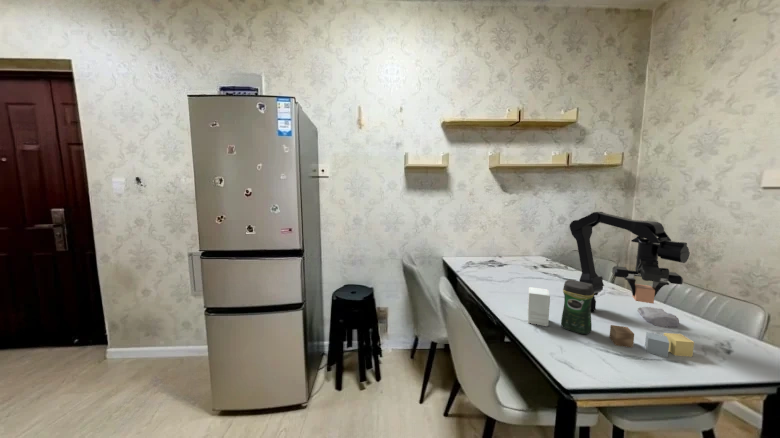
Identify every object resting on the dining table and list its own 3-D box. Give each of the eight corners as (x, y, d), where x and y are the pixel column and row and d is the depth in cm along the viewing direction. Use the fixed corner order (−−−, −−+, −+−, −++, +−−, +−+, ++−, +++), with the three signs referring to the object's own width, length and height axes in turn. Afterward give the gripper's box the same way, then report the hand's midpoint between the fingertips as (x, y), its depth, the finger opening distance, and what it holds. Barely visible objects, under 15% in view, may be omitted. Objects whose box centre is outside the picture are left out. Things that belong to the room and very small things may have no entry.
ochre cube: (674, 355, 92) (676, 340, 92) (662, 346, 97) (663, 333, 97) (692, 356, 92) (694, 342, 91) (679, 348, 97) (680, 334, 96)
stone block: (653, 330, 112) (682, 327, 110) (651, 318, 112) (681, 315, 110) (633, 317, 123) (659, 315, 122) (631, 307, 123) (658, 304, 121)
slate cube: (646, 352, 94) (648, 338, 94) (644, 345, 98) (646, 331, 98) (667, 357, 91) (669, 343, 91) (664, 350, 95) (666, 336, 95)
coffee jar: (593, 329, 109) (597, 282, 107) (587, 337, 103) (592, 287, 101) (564, 321, 116) (567, 276, 114) (558, 327, 110) (561, 281, 108)
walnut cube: (615, 345, 98) (616, 331, 98) (609, 338, 103) (610, 324, 102) (632, 348, 97) (634, 334, 96) (626, 340, 102) (627, 326, 101)
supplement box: (547, 319, 118) (549, 289, 116) (548, 327, 111) (550, 295, 109) (527, 315, 121) (528, 286, 119) (527, 323, 114) (529, 292, 112)
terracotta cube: (635, 300, 106) (637, 287, 105) (632, 296, 110) (633, 283, 110) (653, 303, 103) (655, 290, 103) (649, 298, 108) (650, 285, 107)
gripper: (620, 258, 102) (615, 300, 104) (692, 264, 93) (686, 310, 95) (613, 251, 112) (610, 290, 114) (678, 257, 103) (673, 298, 105)
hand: (642, 297), depth 107 cm, fingers closed on terracotta cube, 5 cm apart
